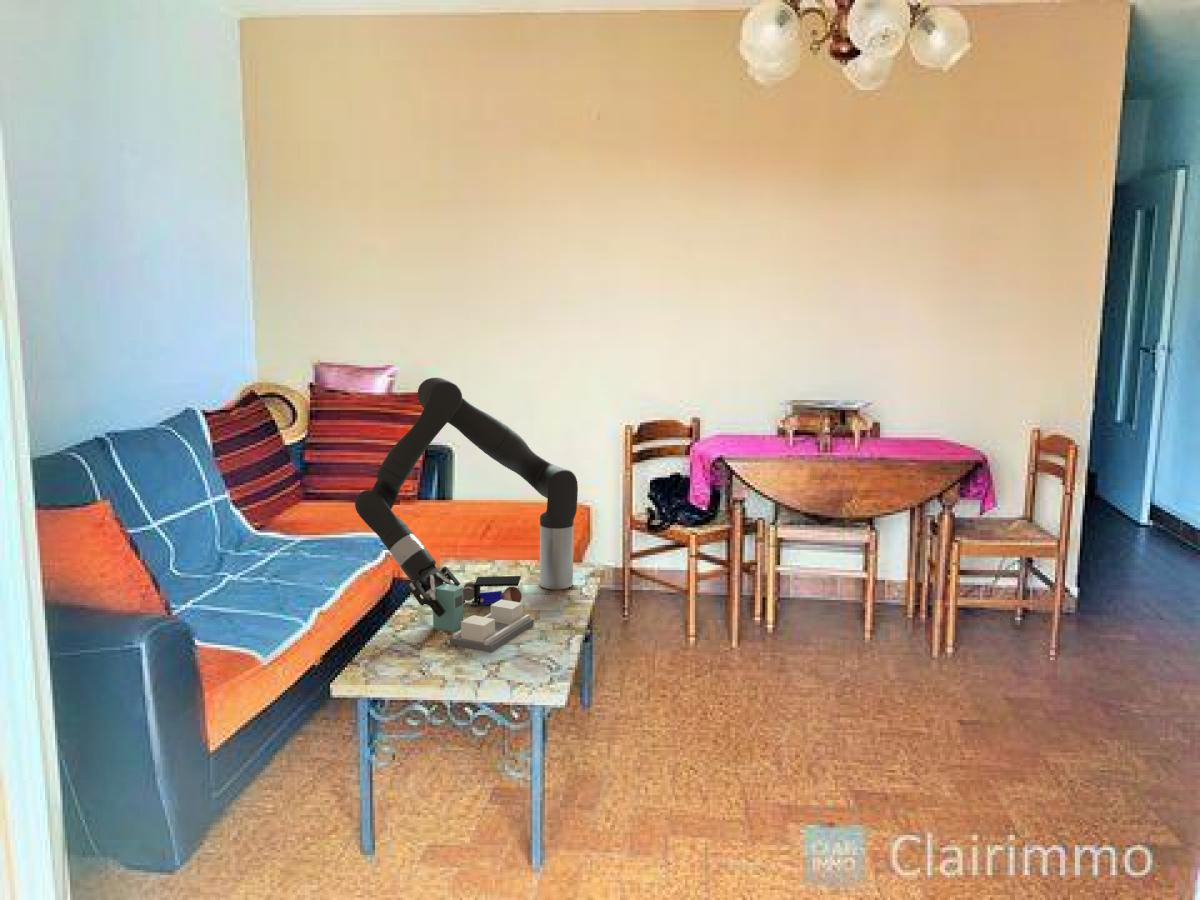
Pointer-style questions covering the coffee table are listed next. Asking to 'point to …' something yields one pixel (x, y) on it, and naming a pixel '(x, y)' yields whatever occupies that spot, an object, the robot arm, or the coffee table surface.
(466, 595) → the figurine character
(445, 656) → the coffee table surface
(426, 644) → the coffee table surface
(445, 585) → the block
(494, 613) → the mounted blocks
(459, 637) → the rail board
